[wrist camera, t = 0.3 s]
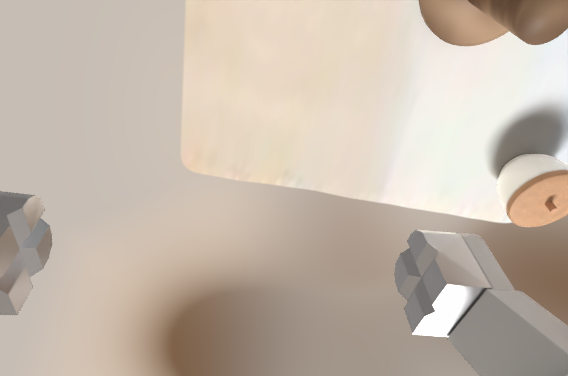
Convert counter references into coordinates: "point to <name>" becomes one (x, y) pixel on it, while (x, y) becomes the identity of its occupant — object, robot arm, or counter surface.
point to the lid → (495, 20)
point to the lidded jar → (534, 189)
